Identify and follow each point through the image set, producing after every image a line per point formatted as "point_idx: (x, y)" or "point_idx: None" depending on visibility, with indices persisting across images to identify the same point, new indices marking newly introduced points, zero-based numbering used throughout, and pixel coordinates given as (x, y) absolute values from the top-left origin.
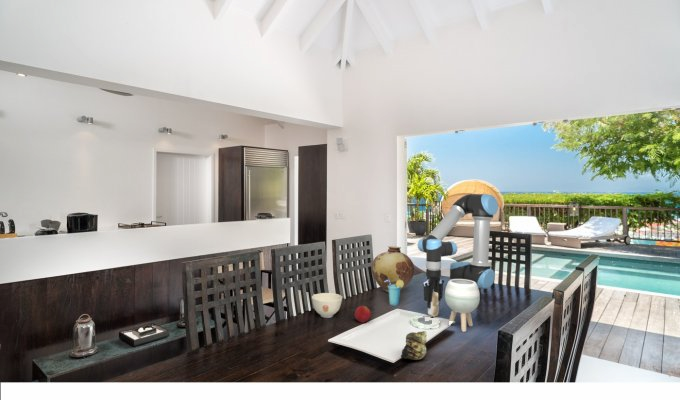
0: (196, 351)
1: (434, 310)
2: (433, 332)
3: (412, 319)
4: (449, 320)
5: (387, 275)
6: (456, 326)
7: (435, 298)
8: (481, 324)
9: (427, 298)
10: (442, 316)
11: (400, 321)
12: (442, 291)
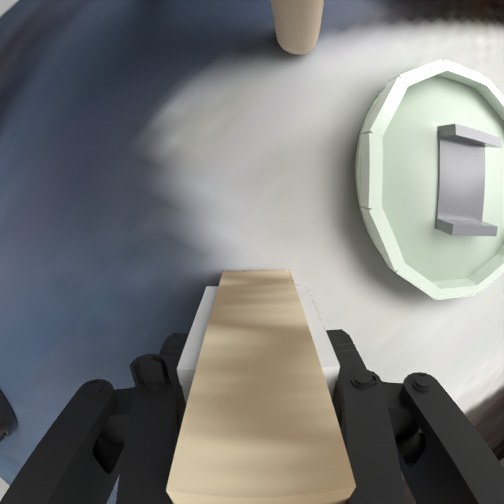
0: None
1: (275, 296)
2: (484, 51)
3: (495, 264)
4: (320, 21)
5: None
6: (266, 7)
7: (267, 403)
8: (71, 3)
9: (449, 402)
10: (172, 261)
11: (500, 306)
12: (31, 463)
